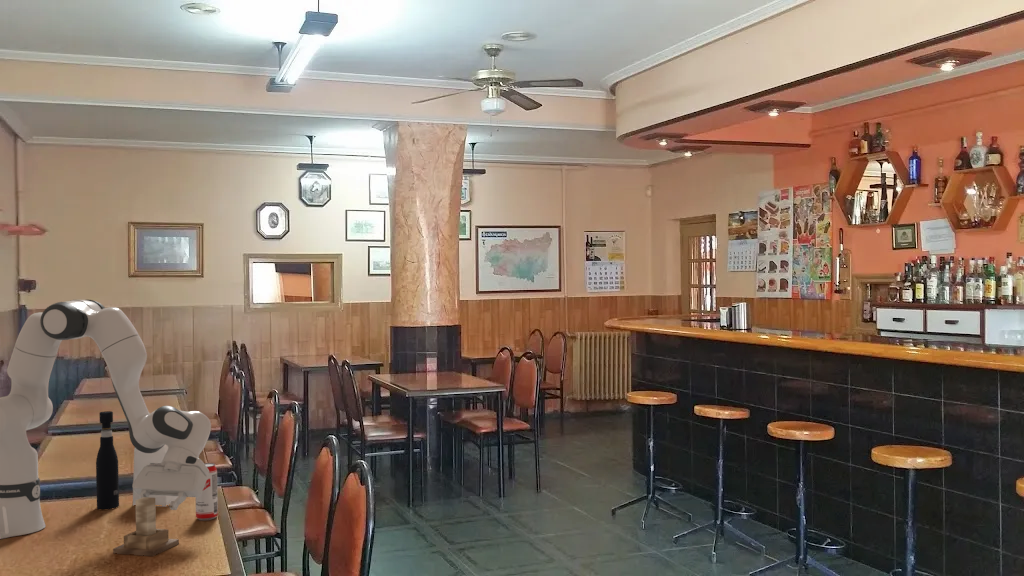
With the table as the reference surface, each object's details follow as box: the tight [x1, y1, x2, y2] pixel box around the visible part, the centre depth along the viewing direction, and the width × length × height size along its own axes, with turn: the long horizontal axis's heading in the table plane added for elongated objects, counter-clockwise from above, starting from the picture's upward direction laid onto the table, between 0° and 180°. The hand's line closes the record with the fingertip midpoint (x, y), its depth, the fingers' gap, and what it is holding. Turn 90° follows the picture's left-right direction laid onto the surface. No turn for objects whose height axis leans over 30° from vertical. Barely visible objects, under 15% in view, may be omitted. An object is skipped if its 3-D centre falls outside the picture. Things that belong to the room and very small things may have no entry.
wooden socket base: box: [112, 528, 180, 557], centre depth 241 cm, size 12×11×4 cm
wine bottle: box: [95, 410, 120, 510], centre depth 285 cm, size 6×6×30 cm
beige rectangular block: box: [135, 497, 157, 536], centre depth 241 cm, size 4×4×12 cm
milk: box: [132, 444, 179, 507], centre depth 292 cm, size 12×12×26 cm
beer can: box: [195, 462, 219, 521], centre depth 271 cm, size 6×6×16 cm
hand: (157, 507), depth 246 cm, fingers open, 8 cm apart
